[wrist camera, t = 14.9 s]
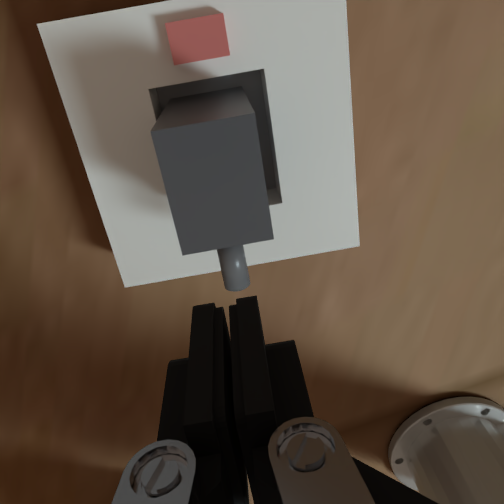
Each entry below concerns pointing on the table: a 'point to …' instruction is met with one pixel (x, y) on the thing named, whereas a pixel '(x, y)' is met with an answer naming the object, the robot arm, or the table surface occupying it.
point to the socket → (206, 80)
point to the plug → (214, 177)
